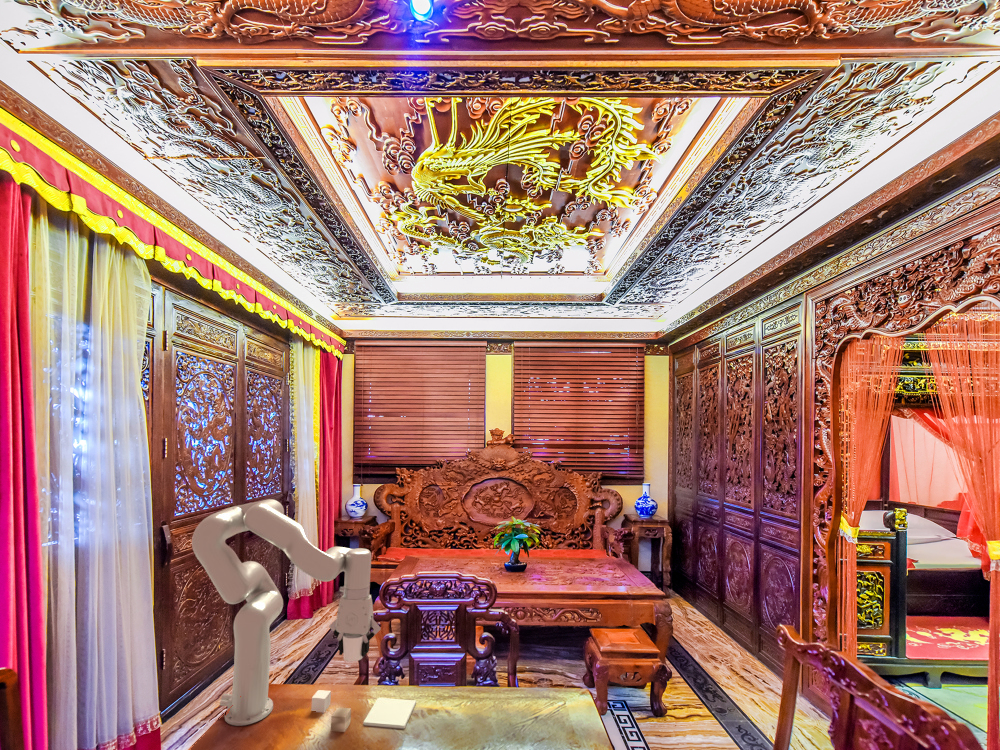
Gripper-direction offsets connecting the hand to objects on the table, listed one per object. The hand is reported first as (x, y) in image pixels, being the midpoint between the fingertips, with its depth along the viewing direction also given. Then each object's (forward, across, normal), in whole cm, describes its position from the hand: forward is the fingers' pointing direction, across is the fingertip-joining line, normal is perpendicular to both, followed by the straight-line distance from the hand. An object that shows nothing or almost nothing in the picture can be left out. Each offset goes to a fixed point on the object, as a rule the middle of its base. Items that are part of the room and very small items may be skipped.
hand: (353, 653), depth 143 cm
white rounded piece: (+1, 0, 0) cm, 1 cm away
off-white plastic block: (+17, -9, 0) cm, 19 cm away
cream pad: (+16, +12, 0) cm, 20 cm away
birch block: (+16, 0, -7) cm, 18 cm away
